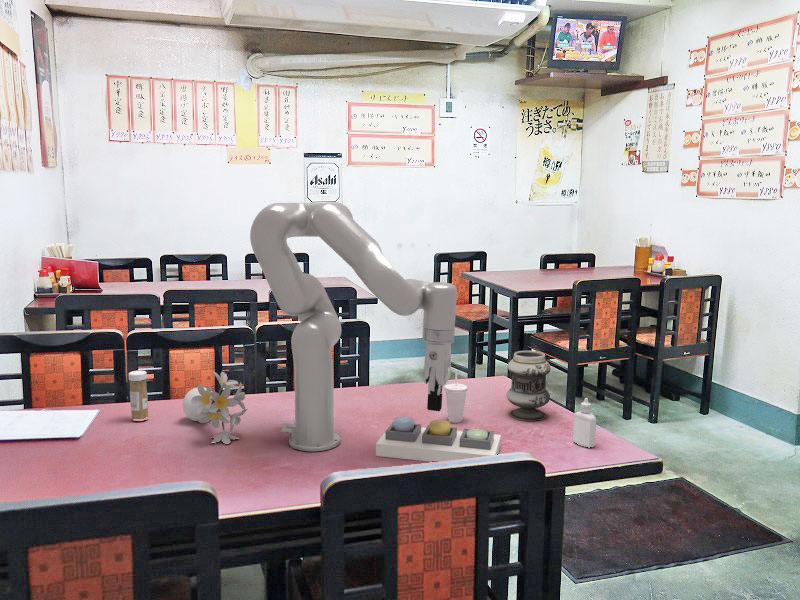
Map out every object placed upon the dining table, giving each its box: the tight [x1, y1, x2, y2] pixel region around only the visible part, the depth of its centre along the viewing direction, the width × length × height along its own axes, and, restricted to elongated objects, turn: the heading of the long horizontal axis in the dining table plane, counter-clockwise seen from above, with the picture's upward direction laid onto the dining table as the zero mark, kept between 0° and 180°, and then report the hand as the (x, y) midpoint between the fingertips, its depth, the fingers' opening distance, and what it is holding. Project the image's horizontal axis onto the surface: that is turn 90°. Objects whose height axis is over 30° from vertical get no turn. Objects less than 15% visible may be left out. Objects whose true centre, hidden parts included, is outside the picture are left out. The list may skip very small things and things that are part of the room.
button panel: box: [375, 422, 502, 463], centre depth 160 cm, size 28×14×5 cm, turn 76°
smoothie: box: [443, 370, 469, 424], centre depth 181 cm, size 6×6×14 cm
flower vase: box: [182, 371, 248, 444], centre depth 172 cm, size 13×18×25 cm
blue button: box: [392, 416, 415, 432], centre depth 161 cm, size 5×5×2 cm
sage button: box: [466, 428, 488, 440], centre depth 157 cm, size 5×5×2 cm
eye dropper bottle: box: [572, 397, 597, 449], centre depth 164 cm, size 4×6×12 cm
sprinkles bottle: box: [128, 370, 149, 419], centre depth 179 cm, size 5×5×14 cm
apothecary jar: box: [506, 350, 552, 422], centre depth 186 cm, size 12×12×18 cm
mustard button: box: [429, 419, 451, 436], centre depth 159 cm, size 5×5×2 cm
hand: (434, 409), depth 159 cm, fingers closed
